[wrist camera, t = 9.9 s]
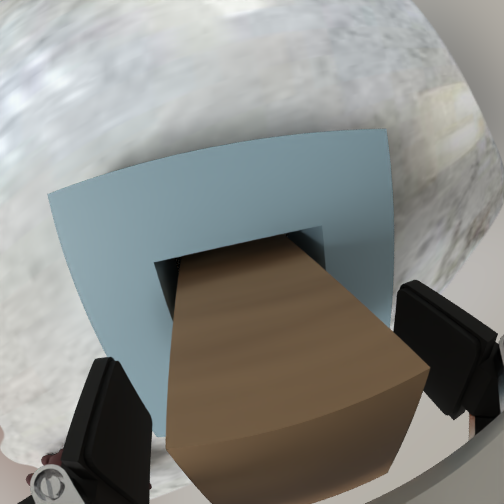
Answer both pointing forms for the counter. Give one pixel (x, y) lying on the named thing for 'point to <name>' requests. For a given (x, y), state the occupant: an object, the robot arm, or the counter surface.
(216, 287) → the walnut peg
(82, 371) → the counter surface
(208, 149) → the socket block
